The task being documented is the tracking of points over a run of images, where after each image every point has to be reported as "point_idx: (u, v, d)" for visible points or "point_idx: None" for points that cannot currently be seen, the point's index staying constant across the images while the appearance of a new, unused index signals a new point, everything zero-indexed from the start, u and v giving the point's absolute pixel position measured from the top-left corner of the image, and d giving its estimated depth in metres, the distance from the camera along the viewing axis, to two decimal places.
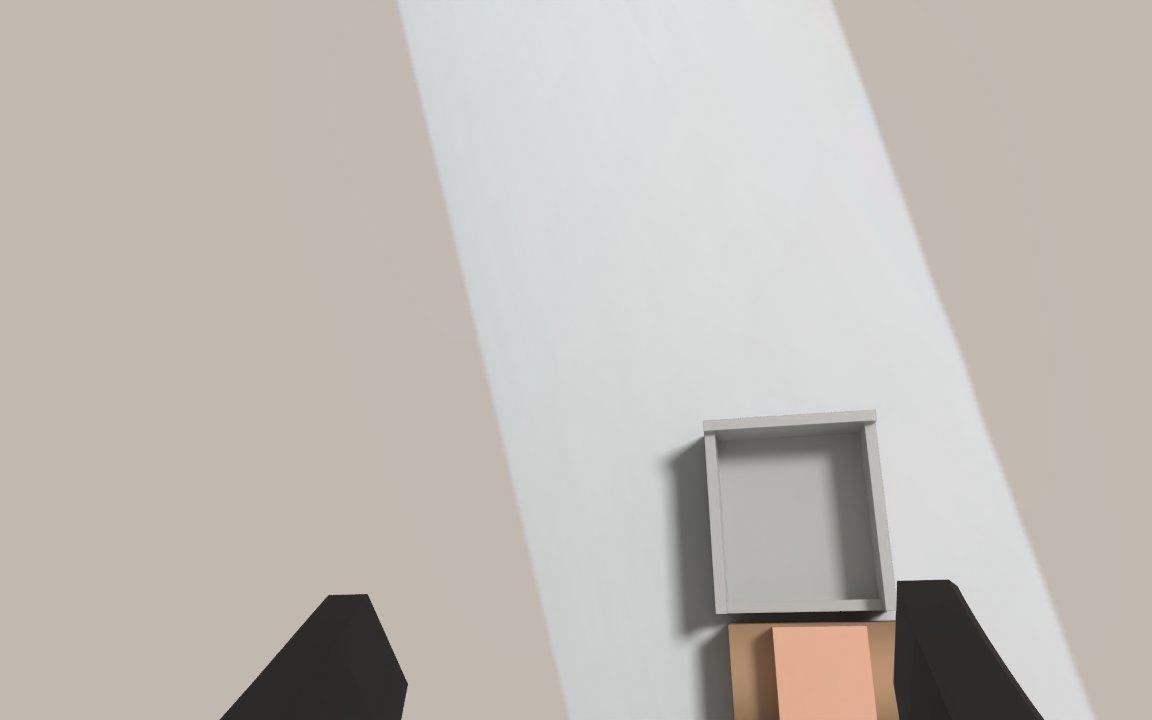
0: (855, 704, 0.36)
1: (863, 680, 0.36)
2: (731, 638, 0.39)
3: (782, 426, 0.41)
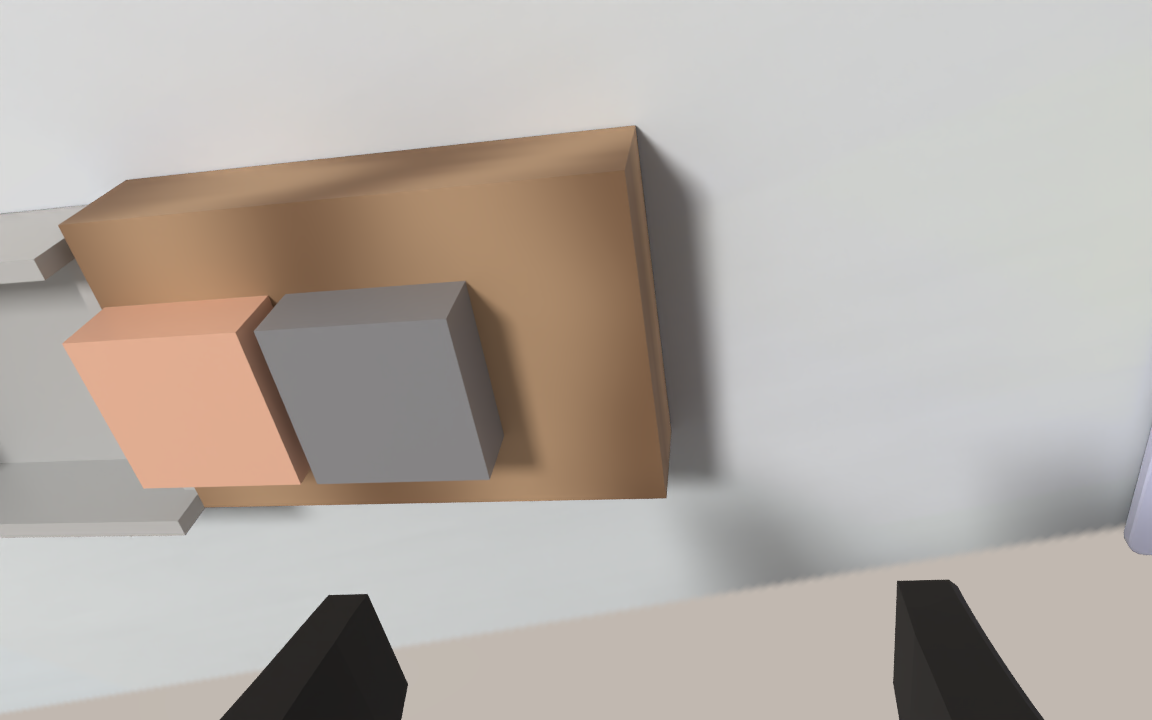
0: (212, 367, 0.17)
1: (163, 353, 0.17)
2: (224, 503, 0.22)
3: None
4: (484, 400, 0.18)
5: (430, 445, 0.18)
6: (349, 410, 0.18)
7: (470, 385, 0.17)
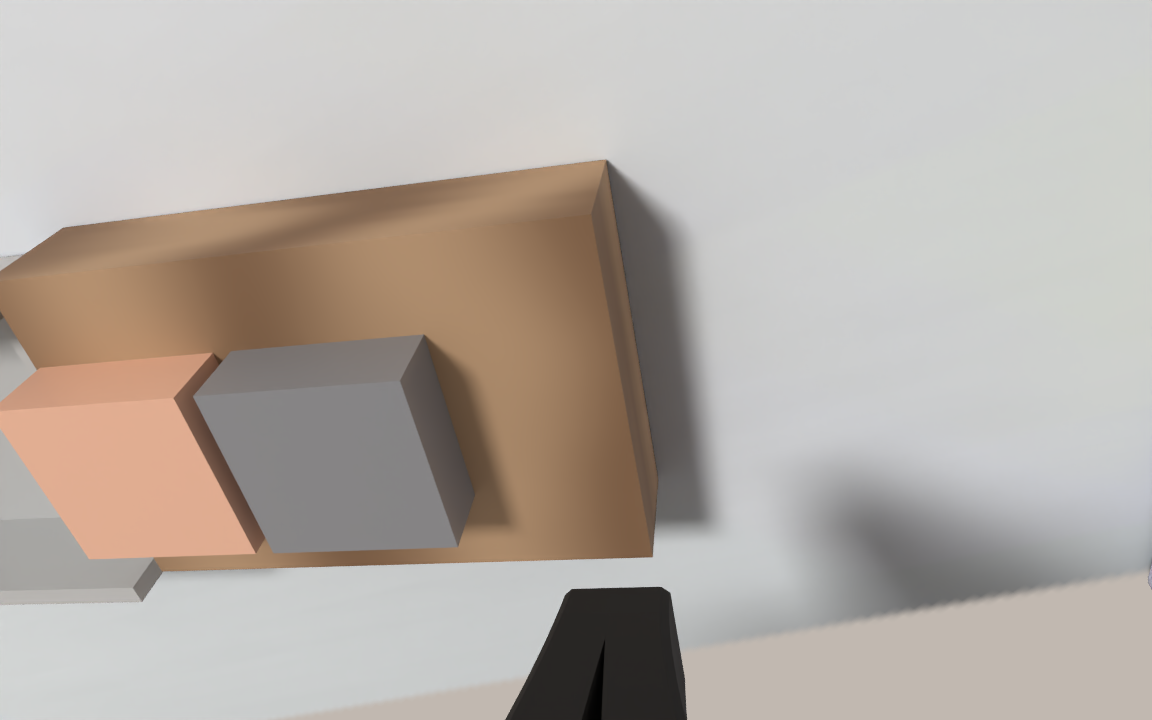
0: (152, 434, 0.16)
1: (98, 420, 0.16)
2: (182, 567, 0.21)
3: None
4: (449, 461, 0.17)
5: (391, 512, 0.16)
6: (302, 477, 0.16)
7: (432, 448, 0.16)
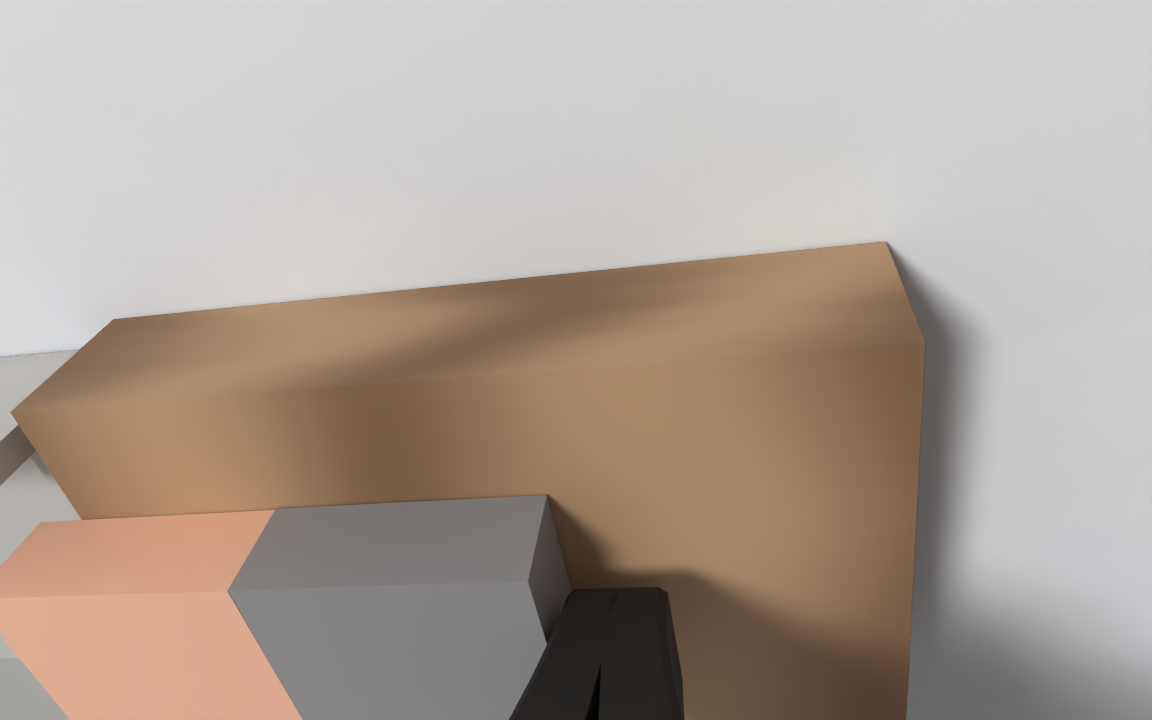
0: (196, 632, 0.12)
1: (121, 613, 0.12)
2: None
3: None
4: None
5: None
6: (376, 687, 0.12)
7: None
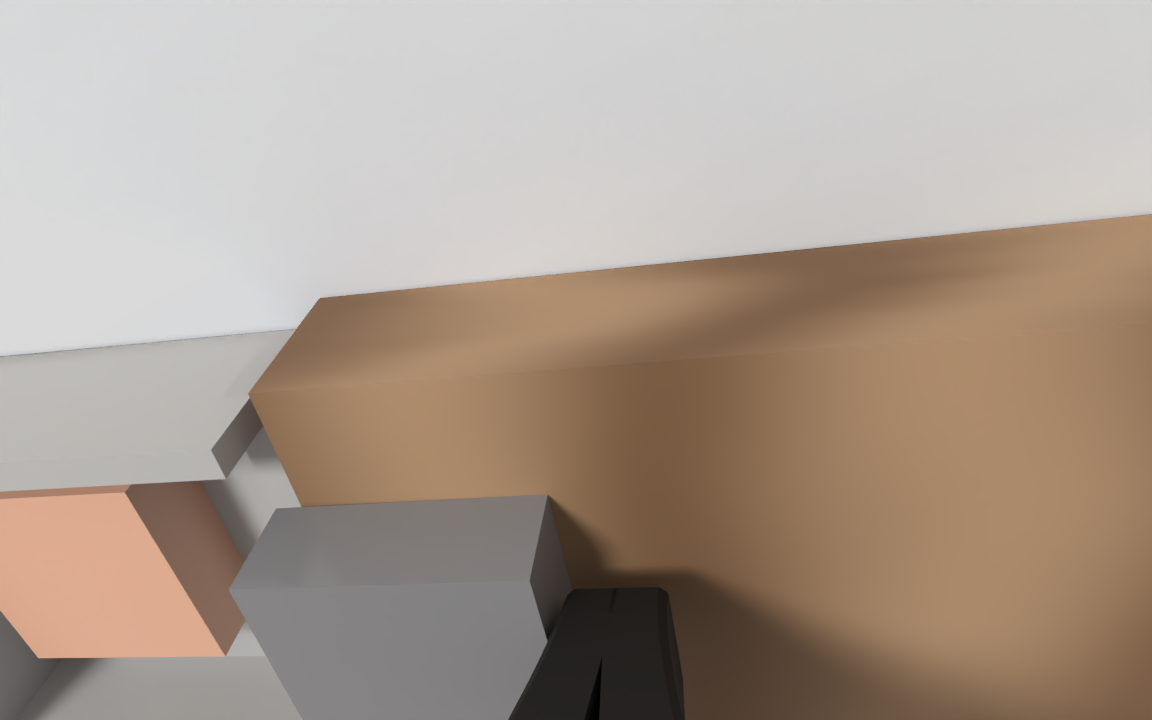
0: None
1: None
2: None
3: None
4: None
5: None
6: (377, 687, 0.12)
7: None
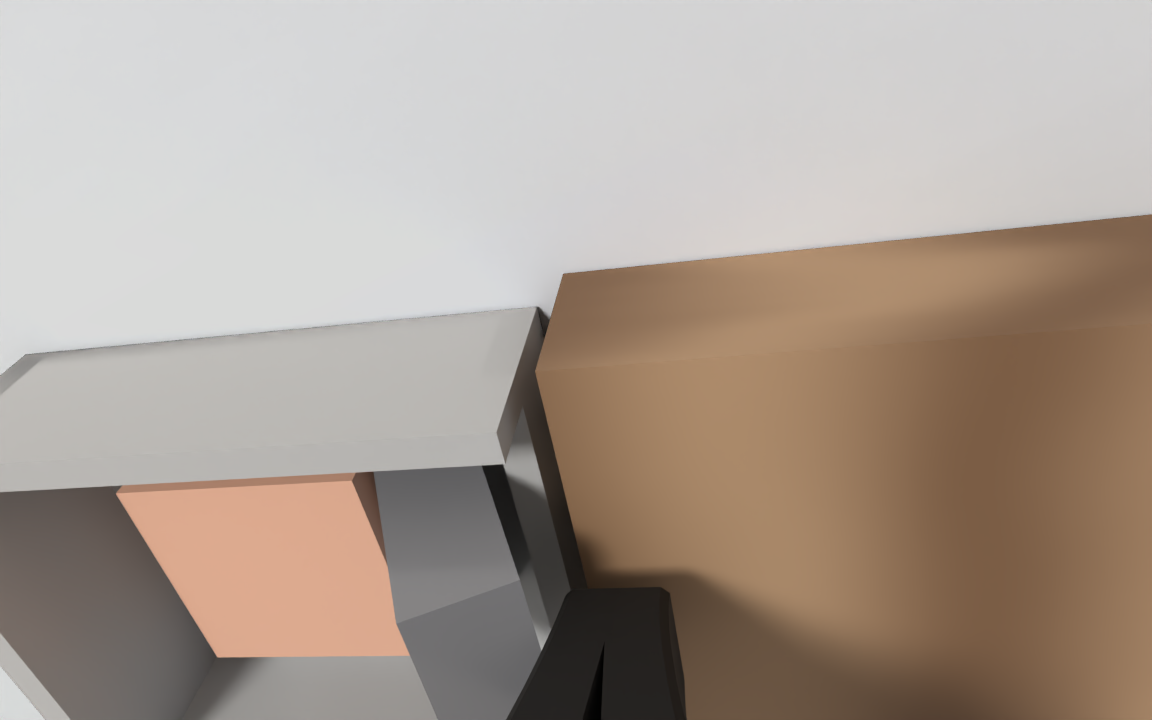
0: None
1: None
2: None
3: (53, 680, 0.14)
4: None
5: None
6: None
7: (463, 706, 0.11)
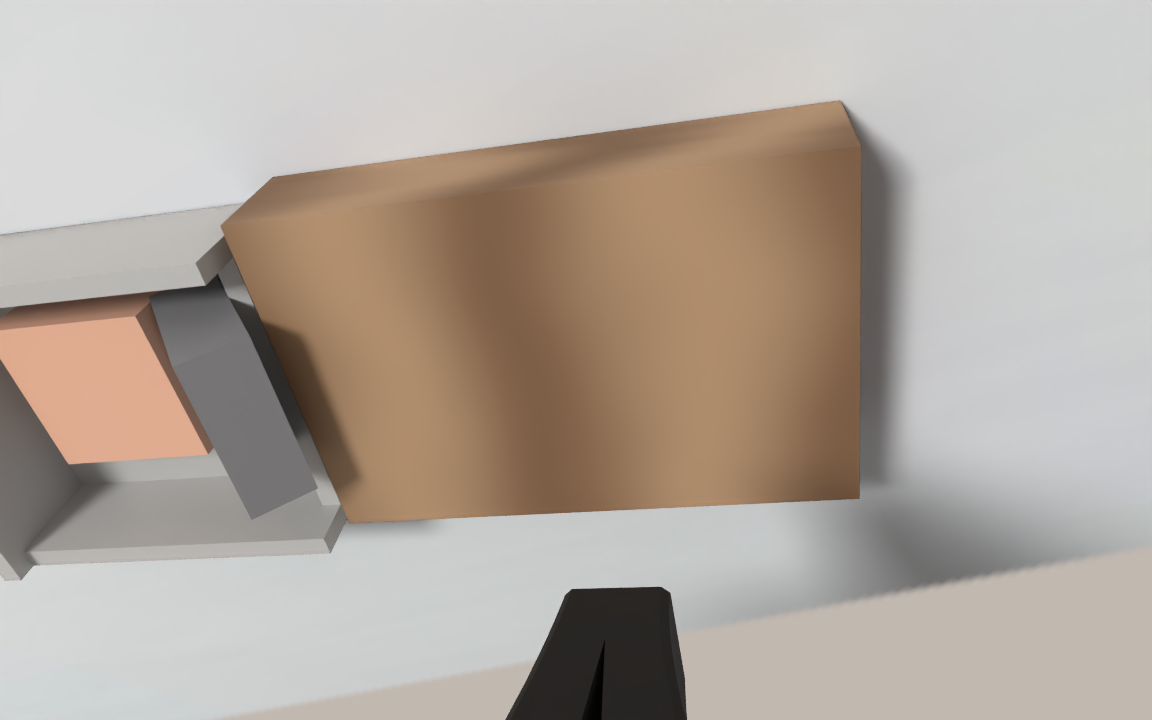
0: None
1: None
2: (371, 518, 0.21)
3: None
4: (265, 450, 0.18)
5: None
6: None
7: (227, 431, 0.17)
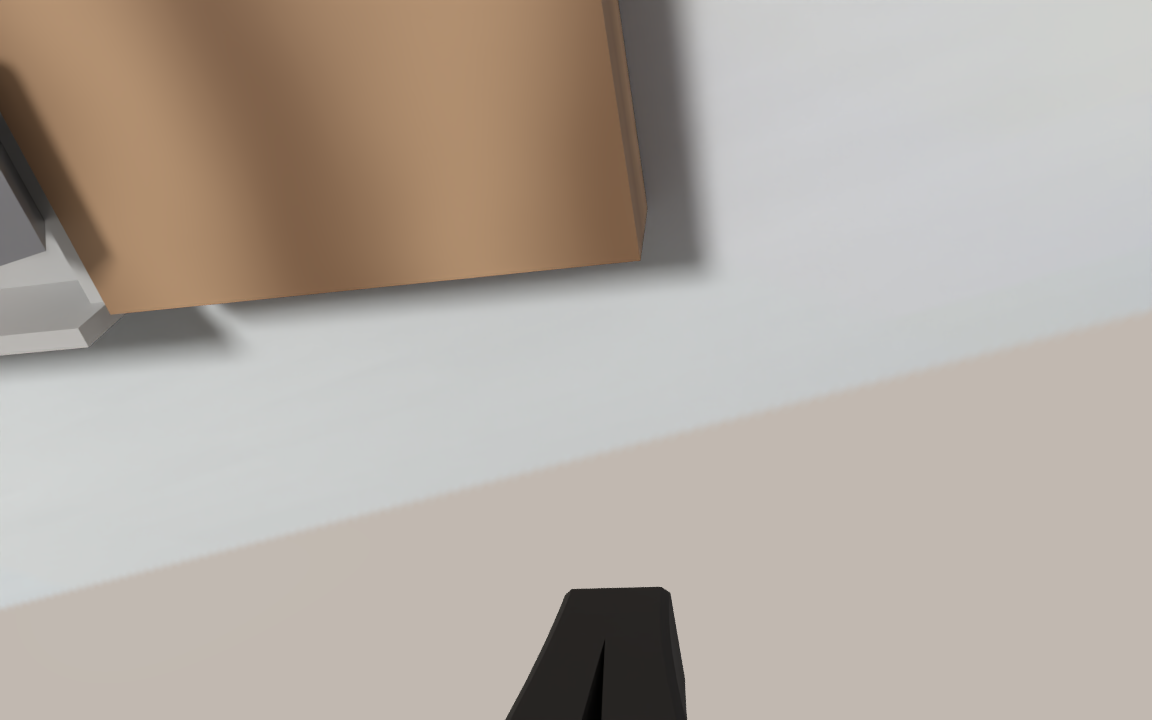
0: None
1: None
2: (132, 307, 0.19)
3: None
4: None
5: None
6: None
7: None
